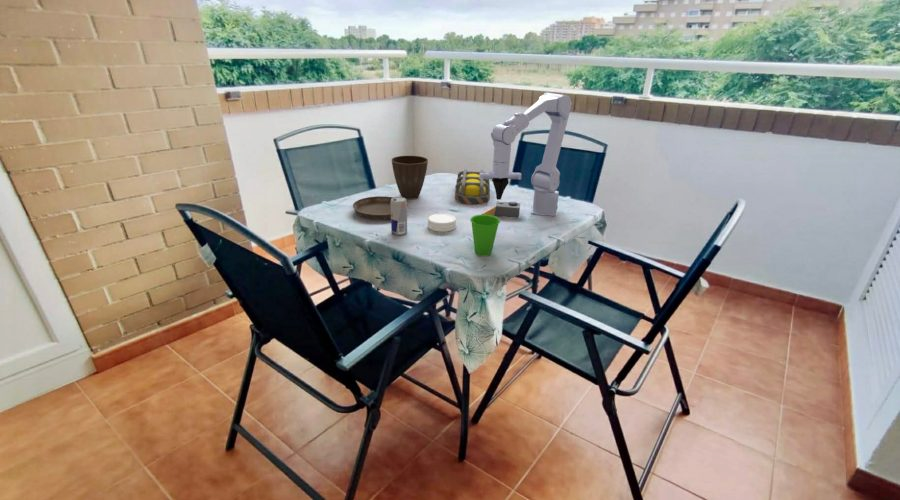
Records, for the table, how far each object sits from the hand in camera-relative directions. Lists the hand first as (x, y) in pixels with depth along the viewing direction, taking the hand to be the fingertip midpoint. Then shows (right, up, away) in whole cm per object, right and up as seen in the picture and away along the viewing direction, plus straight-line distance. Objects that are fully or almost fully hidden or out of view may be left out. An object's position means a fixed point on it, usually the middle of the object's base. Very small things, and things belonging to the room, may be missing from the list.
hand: (498, 198), depth 154 cm
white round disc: (-20, -10, 0) cm, 23 cm away
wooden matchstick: (-3, -6, +7) cm, 10 cm away
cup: (-7, -19, -19) cm, 28 cm away
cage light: (-7, +6, +36) cm, 37 cm away
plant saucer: (-44, -4, +12) cm, 46 cm away
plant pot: (-34, +4, +30) cm, 46 cm away
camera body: (+5, -5, +13) cm, 14 cm away
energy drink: (-35, -13, -6) cm, 37 cm away
